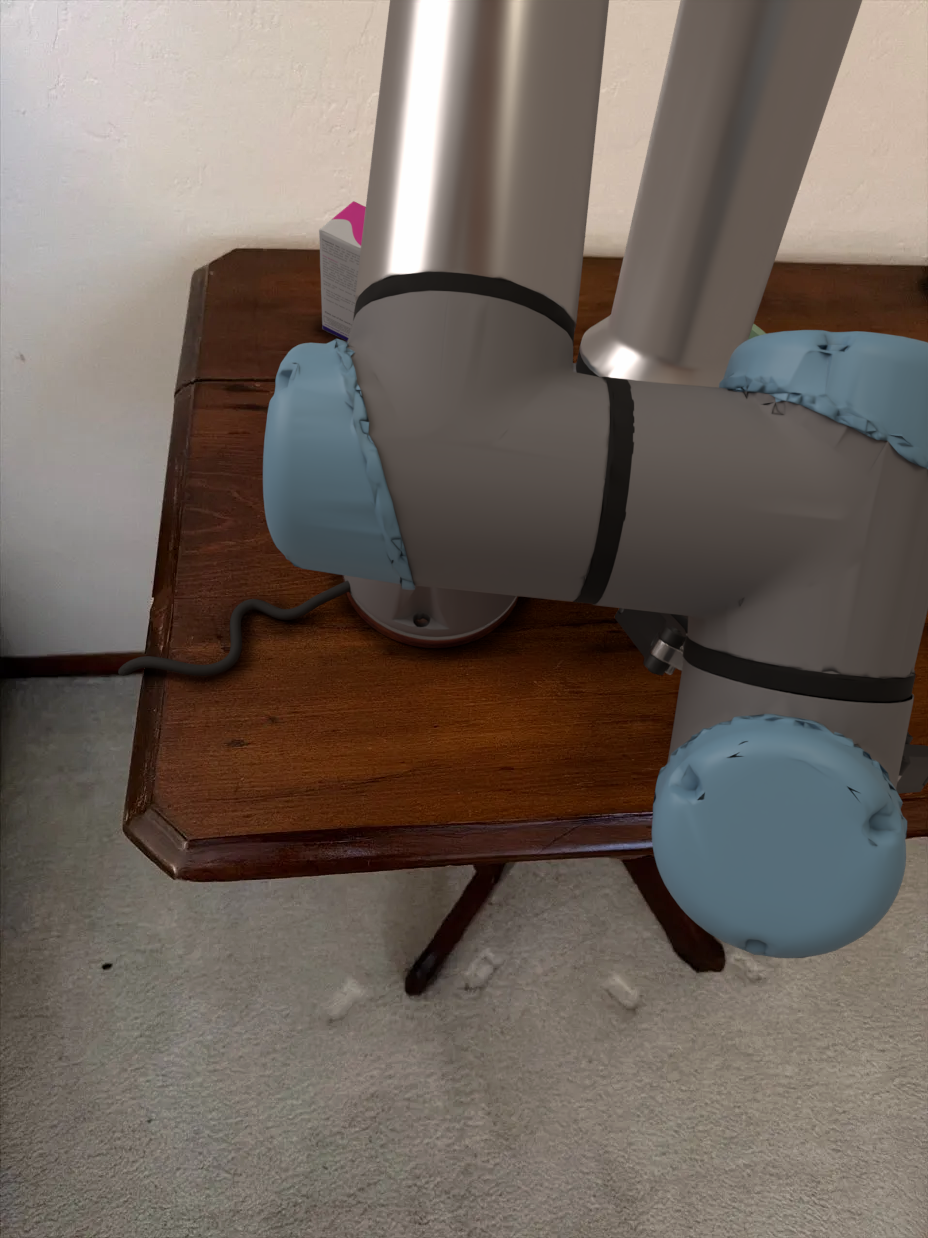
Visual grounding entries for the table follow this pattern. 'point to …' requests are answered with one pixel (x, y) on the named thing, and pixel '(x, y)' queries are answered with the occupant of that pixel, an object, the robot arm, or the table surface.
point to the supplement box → (340, 268)
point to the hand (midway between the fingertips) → (771, 662)
